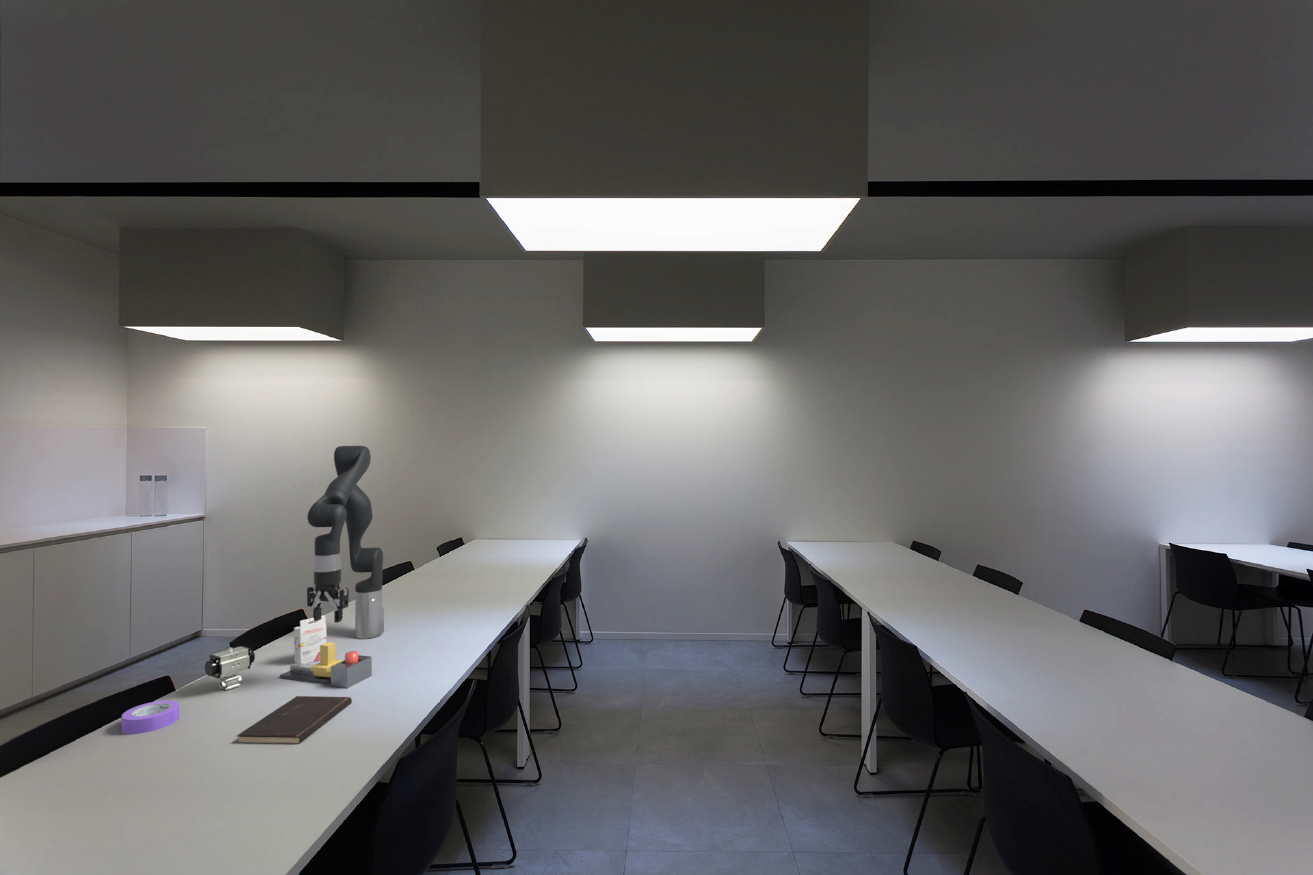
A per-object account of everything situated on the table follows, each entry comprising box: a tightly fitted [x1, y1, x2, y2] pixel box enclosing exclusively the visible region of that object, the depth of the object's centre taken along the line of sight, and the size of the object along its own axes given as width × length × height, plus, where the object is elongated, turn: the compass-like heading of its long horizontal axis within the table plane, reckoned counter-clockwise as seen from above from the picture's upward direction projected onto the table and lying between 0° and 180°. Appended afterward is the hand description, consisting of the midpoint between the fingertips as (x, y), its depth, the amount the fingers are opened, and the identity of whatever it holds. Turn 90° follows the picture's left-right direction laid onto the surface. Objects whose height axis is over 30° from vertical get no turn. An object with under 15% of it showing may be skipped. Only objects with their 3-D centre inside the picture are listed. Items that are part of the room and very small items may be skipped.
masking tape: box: [121, 699, 180, 735], centre depth 159 cm, size 12×12×4 cm
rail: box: [279, 662, 331, 685], centre depth 191 cm, size 8×19×3 cm, turn 74°
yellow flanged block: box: [311, 641, 344, 677], centre depth 189 cm, size 7×6×9 cm
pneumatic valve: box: [204, 645, 256, 691], centre depth 182 cm, size 6×12×12 cm, turn 152°
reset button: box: [344, 650, 359, 664], centre depth 187 cm, size 4×4×5 cm
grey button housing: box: [330, 654, 373, 689], centre depth 187 cm, size 10×6×6 cm, turn 164°
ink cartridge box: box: [293, 614, 327, 664], centre depth 205 cm, size 9×5×15 cm, turn 143°
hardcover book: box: [236, 695, 353, 744], centre depth 160 cm, size 16×23×2 cm
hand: (327, 620), depth 189 cm, fingers open, 7 cm apart
